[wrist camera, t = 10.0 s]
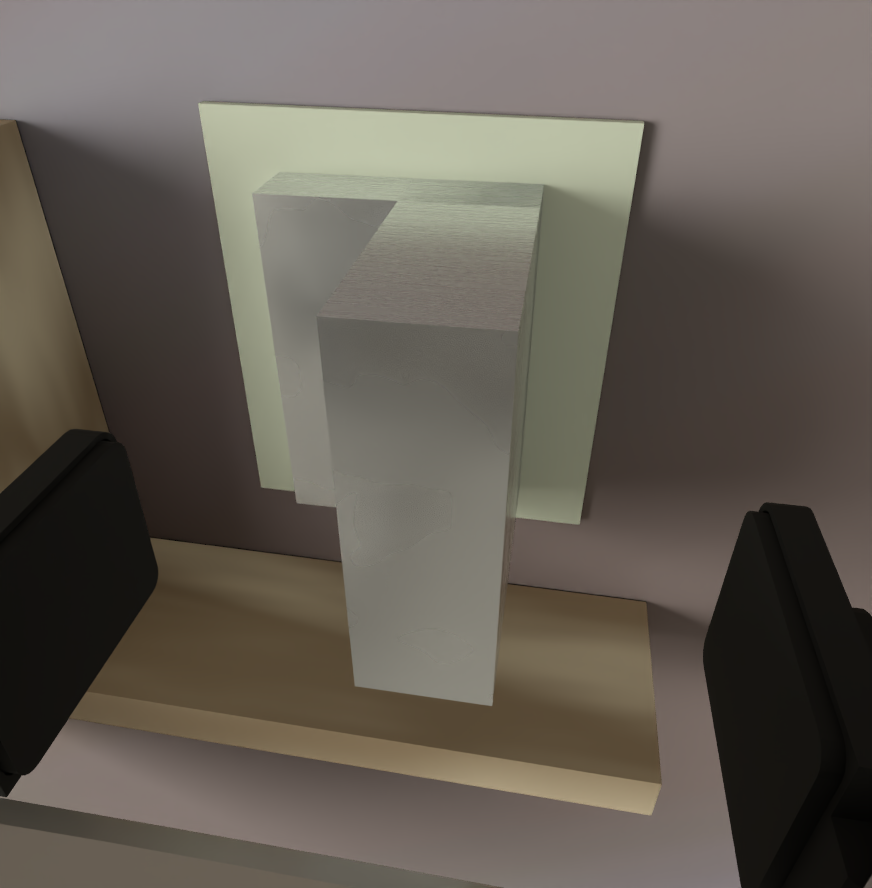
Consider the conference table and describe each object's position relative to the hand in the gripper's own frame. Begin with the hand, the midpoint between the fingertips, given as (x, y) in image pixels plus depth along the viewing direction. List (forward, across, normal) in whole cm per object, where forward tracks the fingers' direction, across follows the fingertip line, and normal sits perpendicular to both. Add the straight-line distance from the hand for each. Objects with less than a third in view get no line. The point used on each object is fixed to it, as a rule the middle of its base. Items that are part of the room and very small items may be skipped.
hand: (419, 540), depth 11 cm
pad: (+6, +1, -1) cm, 6 cm away
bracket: (+6, +1, 0) cm, 6 cm away
